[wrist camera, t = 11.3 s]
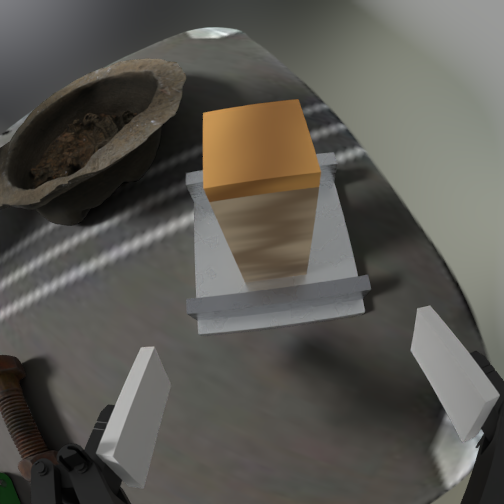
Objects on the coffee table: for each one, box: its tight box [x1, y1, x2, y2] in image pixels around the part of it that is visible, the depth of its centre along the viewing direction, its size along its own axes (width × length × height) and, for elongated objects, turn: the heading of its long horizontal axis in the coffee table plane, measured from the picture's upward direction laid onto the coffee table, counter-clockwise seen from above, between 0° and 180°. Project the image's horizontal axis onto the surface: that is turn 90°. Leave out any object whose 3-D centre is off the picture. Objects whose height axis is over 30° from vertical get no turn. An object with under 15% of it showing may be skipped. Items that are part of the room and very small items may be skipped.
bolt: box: [0, 355, 59, 482], centre depth 18 cm, size 6×5×15 cm
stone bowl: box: [0, 58, 186, 226], centre depth 28 cm, size 25×25×9 cm
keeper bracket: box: [186, 153, 371, 336], centre depth 23 cm, size 12×13×4 cm
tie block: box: [203, 99, 321, 283], centre depth 18 cm, size 4×4×12 cm
